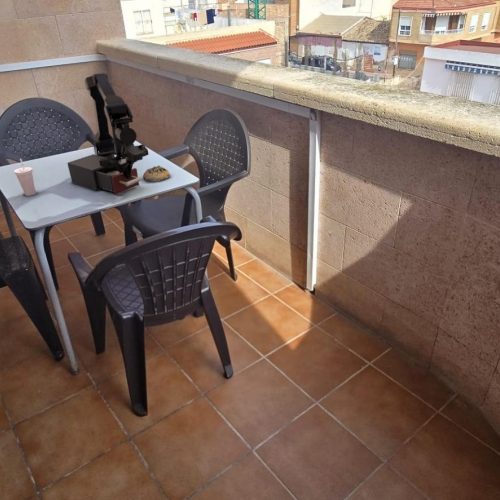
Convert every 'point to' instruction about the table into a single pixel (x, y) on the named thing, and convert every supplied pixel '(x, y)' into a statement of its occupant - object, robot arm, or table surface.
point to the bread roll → (156, 174)
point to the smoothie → (26, 179)
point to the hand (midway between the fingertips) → (128, 178)
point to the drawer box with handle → (85, 171)
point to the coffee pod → (113, 173)
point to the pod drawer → (116, 180)
